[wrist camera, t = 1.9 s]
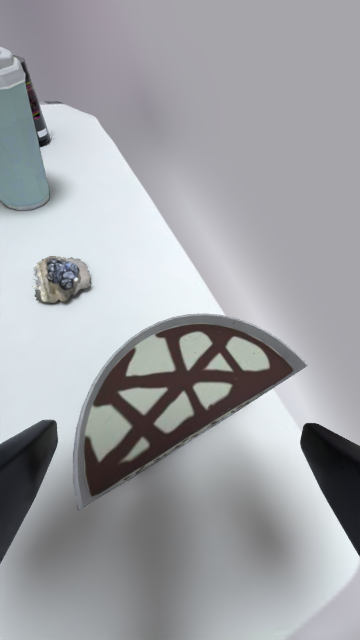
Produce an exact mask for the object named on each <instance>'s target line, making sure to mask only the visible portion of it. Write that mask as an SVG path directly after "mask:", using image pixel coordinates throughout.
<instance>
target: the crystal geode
mask: <svg viewBox="0 0 360 640" xmlns="http://www.w3.org/2000/svg"><path fill="white" fill-rule="evenodd" d="M34 268H35V269H36V270H34V271H36V273H35V275H36V276H37V277H39V279H38V280H35V279H34V280H35V281H37V285H33V286H32V287H33V288H36V290H35V291H36V292H35V293H36V294H35V297H36V298H37V299H36V300H39V301H41V302H49V303H50V302H52V303H55V302H56V301H57V300H58V299H60V301H61V302H62V301H66V300H67V299H69V297H70V296H71V295H72V294H73V295H74V296H76V295H75V294H77V293H78V292H77V291H78V290H79V289H82V288H83V289H85V288H87V287H89V286H90V285H89V284H92V283H90V282H89V280H90V273H89V271H87V267H86V264H85V263H84V262H82V261H81V260H80V259H74V258H72V257H71V258H68V259H66V258H65V257H63V258H61V257H56V256H50V257H47V258H45V259H42V261H41V262H39V263H37V265H36V266H35V267H34Z"/></svg>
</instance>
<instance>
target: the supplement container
mask: <svg viewBox="0 0 360 640" xmlns="http://www.w3.org/2000/svg"><path fill="white" fill-rule="evenodd" d="M13 57H15V58H17V59H18V60H19V61H20V63H21V66H22V68H23V71H24V72H25V85H26V89H27V94H28V98H29V103H30V107H31V112H32V116H33V120H34V125H35V129H36V134H37V138H38V143H39V146H42V145H45V144H46V143H48V141H49V139H50V135H49V132H48V129H47V126H46V123H45V120H44V117H43V114H42V111H41V108H40V105H39V102H38V99H37V96H36V93H35V90H34V87H33V84H32V81H31V78H30V74H29V72H28V68H27V65H26V62H25V59H24V58H22V57H19V56H15V55H13Z"/></svg>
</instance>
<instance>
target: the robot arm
mask: <svg viewBox="0 0 360 640" xmlns="http://www.w3.org/2000/svg"><path fill="white" fill-rule="evenodd" d="M57 443H58V436H57V423H56V421H55V420H42V421H40V422H38V423H36V424H35V425H33V426H31V427H29V428H28V429H26V430H24V431H22V432H21V433H19V434H17V435H15V436H14V437H12V438H10V439H8V440H7V441H5V442H3V443H1V444H0V563H1V562H2V560H3V558H4V556H5V554H6V552H7V550H8V548H9V546H10V545H11V543H12V541H13V539H14V537H15V535H16V533H17V531H18V530H19V528H20V526H21V524H22V522H23V520H24V518H25V516H26V514H27V513H28V511H29V509H30V507H31V505H32V503H33V501H34V499H35V497H36V495H37V493H38V490H39V488H40V486H41V483H42V481H43V479H44V476H45V474H46V471H47V469H48V467H49V464H50V462H51V459H52V457H53V455H54V452H55V450H56V447H57ZM300 445H301V449H302V451H303V453H304V455H305V457H306V459H307V462H308V464H309V466H310V468H311V470H312V472H313V474H314V476H315V478H316V480H317V482H318V484H319V487H320V488H321V490H322V492H323V494H324V496H325V498H326V500H327V501H328V503H329V505H330V507H331V508H332V510H333V512H334V514H335V515H336V517H337V519H338V520H339V522H340V524H341V526H342V527H343V529H344V531H345V532H346V534H347V536H348V538H349V539H350V541H351V543H352V544H353V546H354V548H355V550H356V551H357V553H358V555H359V556H360V446H359V445H357V444H355V443H353V442H351V441H349V440H347V439H345V438H343V437H342V436H339V435H338V434H336V433H334V432H332V431H330V430H328V429H326V428H325V427H323V426H321V425H319V424H316V423H306V424H305V425H304V426H303V431H302V436H301V441H300Z"/></svg>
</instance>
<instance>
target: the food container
mask: <svg viewBox="0 0 360 640" xmlns="http://www.w3.org/2000/svg"><path fill="white" fill-rule="evenodd" d="M306 366H308V365H307V364H306V363H305V361H304V360H302V358H301V357H300V356H298V354H296V352H294V351H293V350H292V349H291V348H290V347H288V346H287V345H286V344H285V343H284V342H282V341H281V340H280V339H278V338H276V337H275V336H273V335H272V334H270V333H269V332H267V331H265V330H263V329H261V328H259V327H257V326H255V325H253V324H251V323H248V322H245V321H242V320H239V319H236V318H232V317H228V316H223V315H215V314H188V315H183V316H177V317H173V318H170V319H167V320H164V321H161V322H158V323H156V324H154V325H152V326H150V327H148V328H146V329H144V330H142V331H141V332H139V333H138V334H136V335H135V336H133V337H132V338H130V339H129V340H128V341H127V342H126V343H125V344H124V345H123V346H121V347H120V348H119V349H118V350H117V351H116V352H115V353H114V354H113V355H112V357H111V358H110V359H109V360H108V361H107V363H106V364H105V365H104V366H103V368H102V369H101V371H100V372H99V374H98V376H97V377H96V379H95V380H94V382H93V384H92V385H91V388H90V390H89V392H88V395H87V397H86V399H85V402H84V404H83V406H82V410H81V414H80V417H79V421H78V425H77V428H76V435H75V443H74V452H73V476H74V488H75V494H76V500H77V506H78V510H80V509H82V508H83V507H85V506H86V505H88V504H89V503H91V502H93V501H94V500H96V499H98V498H99V497H101V496H103V495H104V494H106V493H108V492H109V491H111V490H113V489H114V488H116V487H118V486H119V485H121V484H123V483H124V482H126V481H128V480H129V479H131V478H133V477H134V476H136V475H137V474H139V473H141V472H142V471H144V470H145V469H147V468H148V467H150V466H152V465H153V464H155V463H156V462H158V461H159V460H161V459H163V458H164V457H166V456H167V455H169V454H171V453H172V452H174V451H175V450H177V449H178V448H180V447H182V446H183V445H185V444H186V443H188V442H190V441H191V440H193V439H194V438H196V437H197V436H199V435H201V434H202V433H204V432H205V431H207V430H208V429H210V428H212V427H213V426H215V425H216V424H218V423H220V422H221V421H223V420H224V419H226V418H227V417H229V416H231V415H232V414H234V413H235V412H237V411H238V410H240V409H242V408H243V407H245V406H246V405H248V404H249V403H251V402H252V401H254V400H255V399H257V398H259V397H260V396H262V395H263V394H265V393H266V392H268V391H269V390H271V389H272V388H274V387H275V386H277V385H278V384H280V383H282V382H283V381H285V380H286V379H288V378H289V377H291V376H292V375H294V374H295V373H297V372H299V371H300V370H302V369H303V368H305V367H306Z"/></svg>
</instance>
